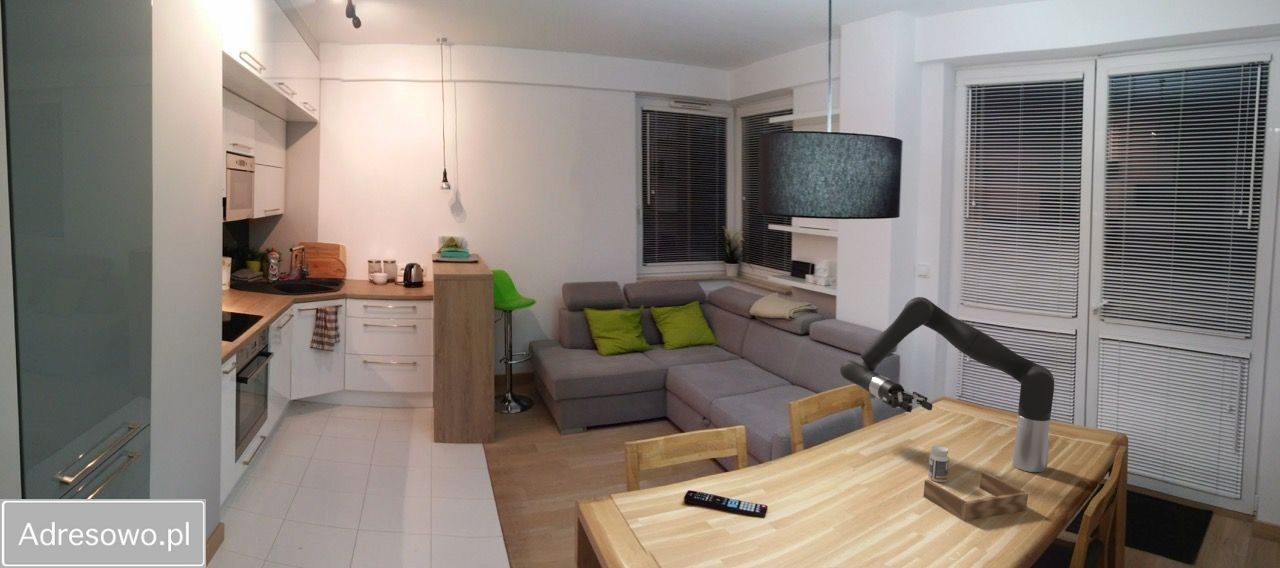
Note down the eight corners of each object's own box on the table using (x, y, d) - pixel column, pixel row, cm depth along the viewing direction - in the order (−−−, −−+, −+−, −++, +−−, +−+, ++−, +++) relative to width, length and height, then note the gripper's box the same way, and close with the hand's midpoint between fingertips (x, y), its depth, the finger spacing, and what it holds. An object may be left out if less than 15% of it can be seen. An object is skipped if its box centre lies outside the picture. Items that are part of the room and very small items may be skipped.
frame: (983, 487, 221) (984, 471, 220) (1026, 510, 206) (1028, 493, 205) (923, 496, 213) (924, 480, 213) (963, 521, 199) (965, 503, 198)
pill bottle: (949, 478, 227) (952, 448, 225) (943, 484, 222) (946, 453, 221) (931, 473, 230) (934, 443, 229) (924, 479, 226) (927, 448, 224)
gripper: (871, 380, 242) (906, 399, 228) (904, 378, 248) (940, 396, 233) (867, 401, 244) (901, 421, 229) (900, 398, 250) (935, 417, 235)
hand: (921, 408), depth 231 cm, fingers open, 8 cm apart
